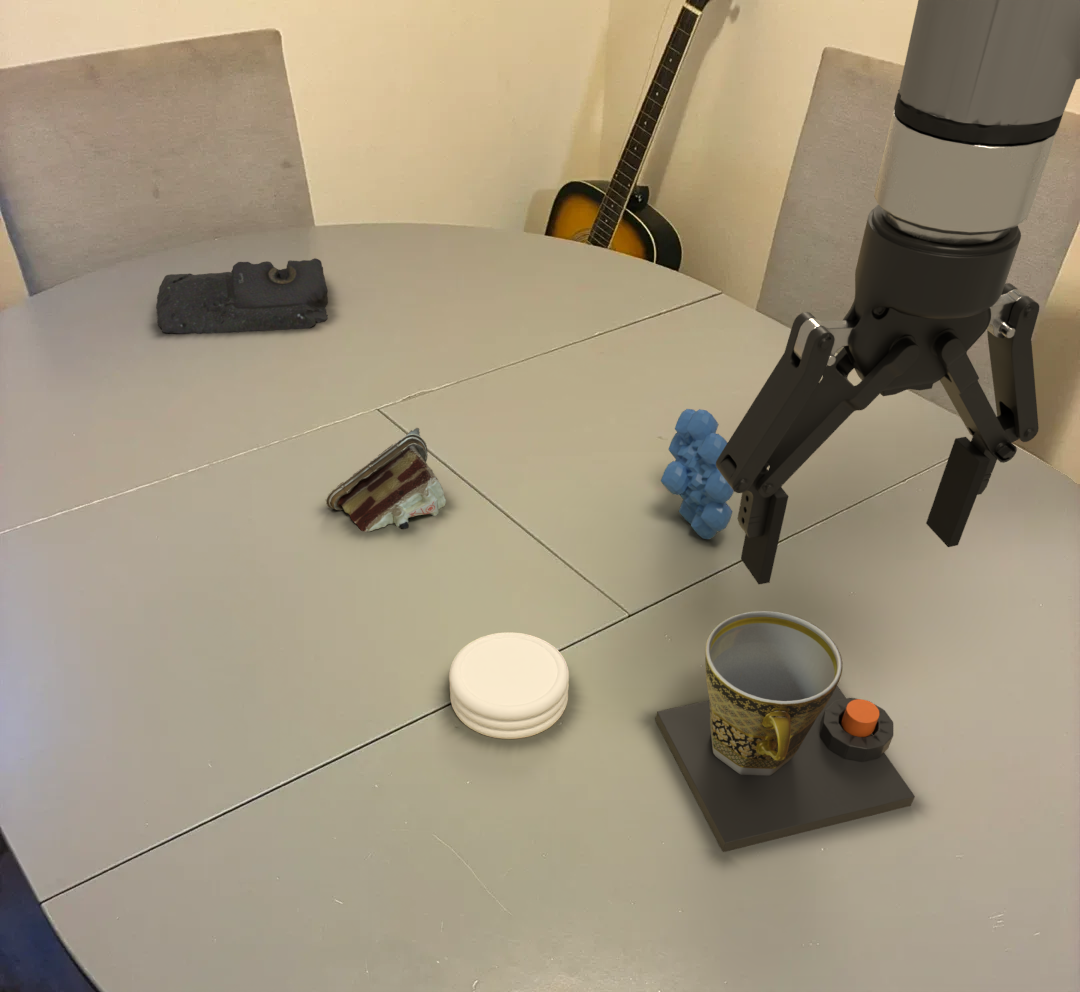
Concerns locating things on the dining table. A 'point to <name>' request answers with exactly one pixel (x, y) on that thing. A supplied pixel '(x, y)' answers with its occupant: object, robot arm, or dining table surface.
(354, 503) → the chocolate cake
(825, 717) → the dark grey flat slab
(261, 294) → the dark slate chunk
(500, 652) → the coaster
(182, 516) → the dining table surface
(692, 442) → the grapes
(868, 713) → the button
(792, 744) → the ceramic cup
